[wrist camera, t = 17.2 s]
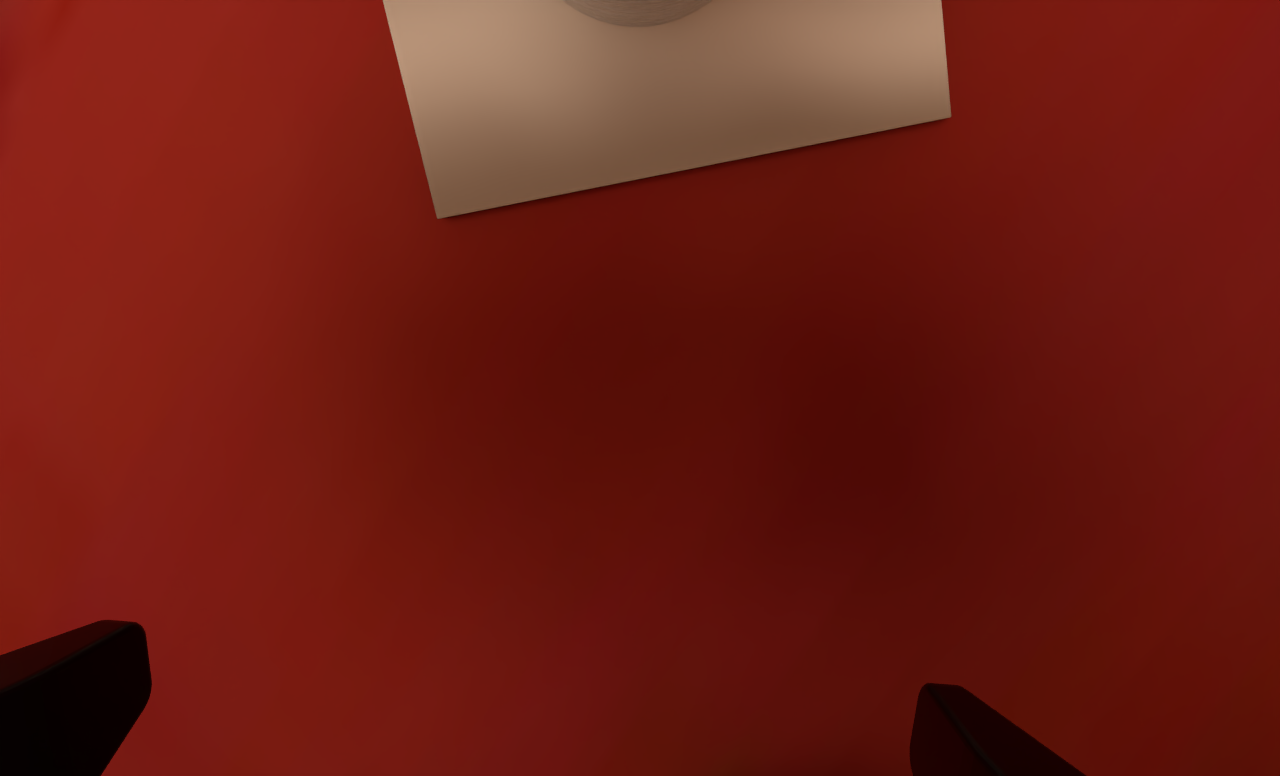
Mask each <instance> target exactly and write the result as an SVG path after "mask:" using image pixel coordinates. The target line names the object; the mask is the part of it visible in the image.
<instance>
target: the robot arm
mask: <svg viewBox="0 0 1280 776" xmlns="http://www.w3.org/2000/svg"><path fill="white" fill-rule="evenodd" d="M151 686H152V680H151V672H150V664H149V656H148V648H147V640H146V634H145V631H144V629H143V627H142V626H141V625H140V624H138V623H136V622H128V621H115V620H101V621H97V622H95V623H92V624H89V625H86V626H83V627H80V628H77V629H75V630H72V631H69V632H66V633H63V634H60V635H57V636H54V637H52V638H49V639H46V640H43V641H40V642H37V643H34V644H32V645H29V646H26V647H23V648H20V649H17V650H14V651H11V652H9V653H6V654H3V655H0V776H101V774H102V773H103V771H104V770H105V768H106V767H107V765H108V764H109V762H110V761H111V759H112V758H113V756H114V754H115V753H116V751H117V750H118V748H119V747H120V745H121V744H122V742H123V741H124V739H125V737H126V736H127V734H128V733H129V731H130V730H131V728H132V727H133V725H134V724H135V722H136V720H137V719H138V717H139V716H140V714H141V713H142V711H143V710H144V708H145V706H146V704H147V702H148V700H149V697H150V693H151ZM910 763H911V769H912V773H913V776H1086V775H1085V774H1083V773H1082V772H1080V771H1079V770H1078V769H1076V768H1075V767H1073V766H1072V765H1071V764H1069V763H1068V762H1066V761H1065V760H1064V759H1062V758H1061V757H1059V756H1058V755H1057V754H1055V753H1054V752H1052V751H1051V750H1050V749H1048V748H1047V747H1046V746H1044V745H1043V744H1041V743H1040V742H1039V741H1037V740H1036V739H1034V738H1033V737H1032V736H1030V735H1029V734H1027V733H1026V732H1025V731H1023V730H1022V729H1020V728H1019V727H1018V726H1016V725H1015V724H1013V723H1012V722H1011V721H1009V720H1008V719H1006V718H1005V717H1004V716H1002V715H1001V714H999V713H998V712H997V711H995V710H994V709H992V708H991V707H990V706H988V705H987V704H985V703H984V702H983V701H981V700H980V699H979V698H977V697H976V696H974V695H973V694H972V693H970V692H969V691H967V690H966V689H964V688H963V687H961V686H958V685H948V684H934V683H927V684H925V685H924V686H923V687H922V688H921V690H920V692H919V696H918V701H917V707H916V713H915V719H914V724H913V730H912V736H911V742H910Z"/></svg>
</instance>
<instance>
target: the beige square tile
mask: <svg viewBox="0 0 1280 776" xmlns="http://www.w3.org/2000/svg"><path fill="white" fill-rule="evenodd" d="M383 3H384V7H385V11H386V15H387V19H388V23H389V27H390V31H391V35H392V39H393V43H394V47H395V51H396V55H397V59H398V63H399V67H400V71H401V75H402V79H403V83H404V87H405V91H406V95H407V99H408V103H409V107H410V111H411V115H412V119H413V123H414V127H415V131H416V135H417V139H418V143H419V147H420V151H421V155H422V159H423V163H424V167H425V171H426V175H427V179H428V183H429V187H430V191H431V195H432V199H433V203H434V207H435V211H436V215H437V219H439V218H446V217H451V216H456V215H461V214H466V213H471V212H476V211H481V210H486V209H491V208H496V207H501V206H506V205H511V204H516V203H521V202H526V201H532V200H537V199H542V198H547V197H552V196H557V195H562V194H567V193H572V192H577V191H582V190H587V189H592V188H597V187H602V186H607V185H612V184H617V183H622V182H627V181H633V180H638V179H643V178H648V177H653V176H658V175H663V174H668V173H673V172H678V171H683V170H688V169H693V168H698V167H703V166H708V165H713V164H718V163H723V162H728V161H734V160H739V159H744V158H749V157H754V156H759V155H764V154H769V153H774V152H779V151H784V150H789V149H794V148H799V147H804V146H809V145H814V144H819V143H824V142H829V141H835V140H840V139H845V138H850V137H855V136H860V135H865V134H870V133H875V132H880V131H885V130H890V129H895V128H900V127H905V126H910V125H915V124H920V123H925V122H930V121H936V120H941V119H945V118H949V117H951V108H950V97H949V85H948V73H947V62H946V50H945V38H944V27H943V15H942V3H941V0H712V1H710V2H709V3H708V4H706V5H704V6H703V7H701V8H700V9H698V10H697V11H695V12H693V13H691V14H689V15H687V16H685V17H683V18H681V19H678V20H675V21H672V22H668V23H665V24H660V25H654V26H648V27H627V26H619V25H613V24H609V23H606V22H602V21H599V20H596V19H594V18H591V17H589V16H587V15H584V14H583V13H581V12H579V11H578V10H576V9H574V8H573V7H571V6H569V5H568V4H567V3H566V2H564V1H563V0H383Z"/></svg>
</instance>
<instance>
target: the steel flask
mask: <svg viewBox="0 0 1280 776" xmlns="http://www.w3.org/2000/svg"><path fill="white" fill-rule="evenodd" d="M563 1H564V2H566V3H567V4H568V5H569V6H571V7H573V8H574V9H576V10H578V11H579V12H581V13H583V14H584V15H587V16H589V17H591V18H594V19H596V20H599V21H602V22H606V23H609V24H613V25H619V26H627V27H648V26H654V25H660V24H665V23H668V22H672V21H675V20H678V19H681V18H683V17H685V16H687V15H689V14H691V13H693V12H695V11H697V10H698V9H700V8H701V7H703V6H704V5H706V4H708V3H709V2H710V1H712V0H563Z"/></svg>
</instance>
